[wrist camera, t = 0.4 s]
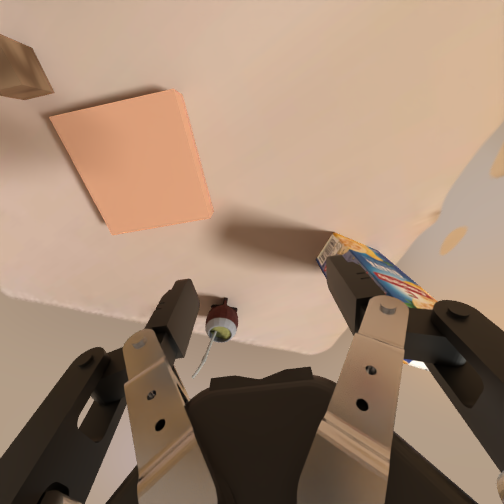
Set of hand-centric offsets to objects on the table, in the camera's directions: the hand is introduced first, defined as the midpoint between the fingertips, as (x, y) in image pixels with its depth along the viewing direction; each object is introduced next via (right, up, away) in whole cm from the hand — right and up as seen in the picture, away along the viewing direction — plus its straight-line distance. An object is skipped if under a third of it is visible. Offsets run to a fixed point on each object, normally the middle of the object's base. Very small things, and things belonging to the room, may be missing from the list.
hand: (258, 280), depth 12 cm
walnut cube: (-32, +27, +17) cm, 46 cm away
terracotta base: (-18, +16, +23) cm, 33 cm away
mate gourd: (-7, -12, +38) cm, 41 cm away
